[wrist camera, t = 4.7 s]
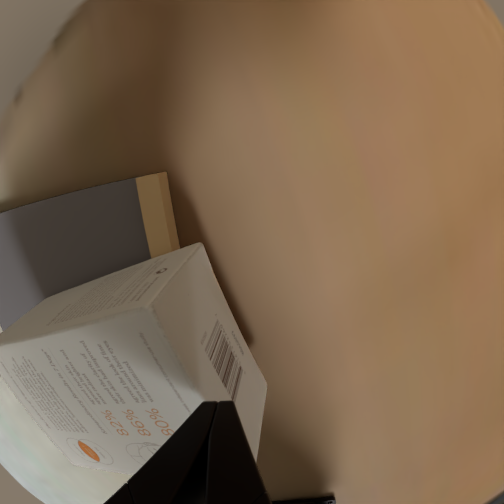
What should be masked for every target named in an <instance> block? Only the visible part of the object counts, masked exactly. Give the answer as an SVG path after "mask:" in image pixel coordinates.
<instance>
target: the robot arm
mask: <svg viewBox="0 0 504 504" xmlns="http://www.w3.org/2000/svg"><path fill="white" fill-rule="evenodd" d="M127 483H128V484H127ZM127 483H125V484H124V485H123V486H122V487H121V488H120V489H119V490H118V491H117V492H116V493H115V494H114V495H112V496H111V497H110V498H109V499H108V500H107V501H106V502H105V503H104V504H336V499H335V497H326V498H319V499H310V500H301V501H290V502H275V503H272V502H271V500H270V497H269V495H268V493H267V490H266V488H265V485H264V482H263V480H262V477H261V475H260V472H259V470H258V467H257V464H256V462H255V459H254V456H253V454H252V451H251V448H250V445H249V443H248V440H247V437H246V434H245V432H244V429H243V426H242V423H241V420H240V417H239V414H238V412H237V409H236V406H235V403H234V401H232V400H226V401H219V402H217V401H203V402H202V403H201V404H200V405H199V406H198V407H197V408H196V409H195V410H194V412H193V413H192V414H191V415H190V416H189V417H188V418H187V419H186V420H185V421H184V423H183V424H182V425H181V426H180V427H179V428H178V429H177V430H176V431H175V432H174V433H173V434H172V436H171V437H170V438H169V439H168V440H167V441H166V442H165V443H164V444H163V445H162V446H161V447H160V448H159V449H158V450H157V451H156V452H155V454H154V455H153V456H152V457H151V458H150V459H149V460H148V461H147V462H146V463H145V464H144V465H143V466H142V467H141V468H140V469H139V470H138V471H137V472H136V473H135V474H134V475H133V476H132V477H131V478H130V479H129V480H128V481H127Z"/></svg>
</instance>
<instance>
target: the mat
mask: <svg viewBox="0 0 504 504" xmlns="http://www.w3.org/2000/svg"><path fill="white" fill-rule="evenodd" d="M178 249H180V245H179V240H178V234H177V229H176V224H175V218H174V213H173V207H172V202H171V196H170V190H169V184H168V178H167V172H161V173H156V174H151V175H146V176H141V177H136V178H131V179H126V180H122V181H117V182H112V183H108V184H104V185H99V186H95V187H91V188H87V189H83V190H79V191H75V192H71V193H67V194H63V195H60V196H56V197H52V198H49V199H45V200H41V201H38V202H35V203H31V204H28V205H24V206H21V207H18V208H15V209H11V210H8V211H5V212H2V213H0V325H1V327H2V330H3V331H4V330H6V329H7V328H8V327H9V326H11V325H12V324H13V323H15V322H16V321H17V320H18V319H20V318H21V317H22V316H23V315H25V314H26V313H27V312H29V311H30V310H31V309H33V308H34V307H35V306H36V305H38V304H39V303H40V302H42V301H43V300H44V299H46V298H48V297H50V296H53V295H55V294H58V293H60V292H63V291H66V290H68V289H71V288H74V287H77V286H80V285H82V284H84V283H87V282H90V281H93V280H95V279H98V278H100V277H103V276H106V275H108V274H111V273H114V272H117V271H120V270H122V269H125V268H128V267H130V266H133V265H136V264H139V263H141V262H144V261H147V260H149V259H152V258H155V257H158V256H161V255H164V254H167V253H169V252H172V251H175V250H178Z"/></svg>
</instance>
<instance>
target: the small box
mask: <svg viewBox="0 0 504 504" xmlns="http://www.w3.org/2000/svg"><path fill="white" fill-rule="evenodd" d="M0 376H1V377H2V378H3V380H4V381H5V383H6V384H7V385H8V387H9V388H10V390H11V391H12V392H13V394H14V395H15V396H16V398H17V399H18V401H19V402H20V403H21V404H22V406H23V407H24V408H25V410H26V411H27V412H28V413H29V415H30V416H31V417H32V418H33V420H34V421H35V422H36V423H37V425H38V426H39V427H40V428H41V429H42V431H43V432H44V433H45V434H46V435H47V436H48V438H49V439H50V440H51V441H52V442H53V443H54V444H55V445H56V447H57V448H58V449H59V450H60V451H61V452H62V453H63V455H64V456H65V457H66V458H67V459H68V460H69V461H70V463H71V464H73V465H75V466H80V467H85V468H90V469H96V470H102V471H109V472H116V473H123V474H131V475H134V474H135V473H136V472H137V471H138V470H139V469H140V468H141V467H142V466H143V465H144V464H145V463H146V462H147V461H148V460H149V459H150V458H151V457H152V456H153V455H154V454H155V452H156V451H157V450H158V449H159V448H160V447H161V446H162V445H163V444H164V443H165V442H166V441H167V440H168V439H169V438H170V437H171V436H172V434H173V433H174V432H175V431H176V430H177V429H178V428H179V427H180V426H181V425H182V424H183V423H184V421H185V420H186V419H187V418H188V417H189V416H190V415H191V414H192V413H193V412H194V410H195V409H196V408H197V407H198V406H199V405H200V404H201V403H202V402H203V401H217V402H219V401H226V400H232V401H234V403H235V406H236V409H237V412H238V414H239V417H240V420H241V423H242V426H243V429H244V432H245V434H246V437H247V440H248V443H249V445H250V448H251V451H252V454H253V456H254V459H255V462H257V455H258V448H259V441H260V434H261V426H262V419H263V412H264V405H265V399H266V393H267V383H266V381H265V379H264V377H263V374H262V373H261V371H260V369H259V368H258V366H257V364H256V362H255V360H254V358H253V356H252V354H251V352H250V350H249V348H248V346H247V344H246V342H245V340H244V338H243V336H242V334H241V332H240V330H239V328H238V326H237V323H236V321H235V319H234V317H233V315H232V313H231V310H230V308H229V306H228V304H227V302H226V299H225V297H224V295H223V292H222V290H221V288H220V286H219V284H218V281H217V279H216V277H215V274H214V272H213V269H212V267H211V264H210V261H209V259H208V256H207V253H206V251H205V248H204V245H203V244H202V243H200V242H199V243H195V244H192V245H189V246H186V247H184V248H181V249H178V250H175V251H172V252H169V253H167V254H164V255H161V256H158V257H155V258H152V259H149V260H147V261H144V262H141V263H139V264H136V265H133V266H130V267H128V268H125V269H122V270H120V271H117V272H114V273H111V274H108V275H106V276H103V277H100V278H98V279H95V280H93V281H90V282H87V283H84V284H82V285H80V286H77V287H74V288H71V289H68V290H66V291H63V292H60V293H58V294H55V295H53V296H50V297H48V298H46V299H44V300H43V301H42V302H40V303H39V304H38V305H36V306H35V307H34V308H33V309H31V310H30V311H29V312H27V313H26V314H25V315H23V316H22V317H21V318H20V319H18V320H17V321H16V322H15V323H13V324H12V325H11V326H9V327H8V328H7V329H6V330H4V331H3V332H2V333H1V334H0Z"/></svg>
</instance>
